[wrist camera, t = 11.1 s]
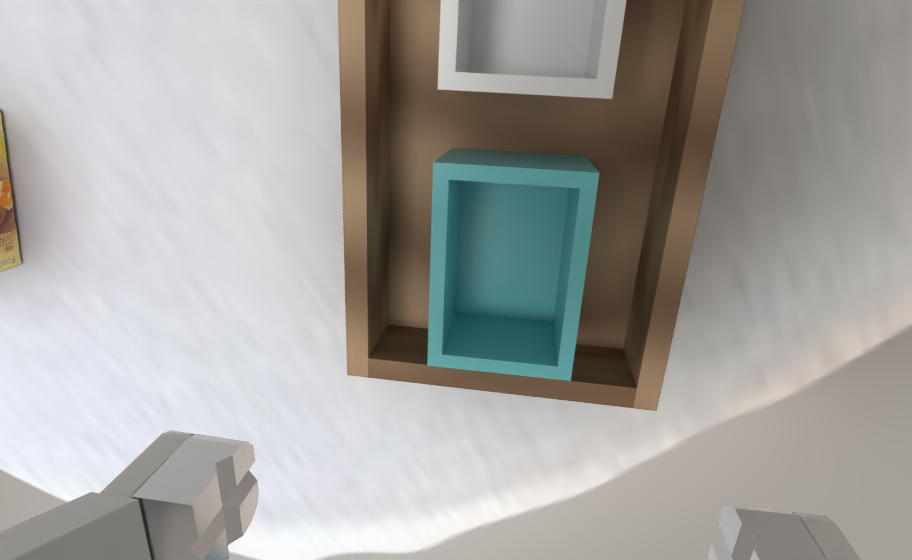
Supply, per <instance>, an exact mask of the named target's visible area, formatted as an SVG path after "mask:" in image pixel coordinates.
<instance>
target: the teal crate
mask: <svg viewBox="0 0 912 560" xmlns="http://www.w3.org/2000/svg"><path fill="white" fill-rule="evenodd" d="M598 180H599V172H598V170H597V169H596V168H595V167H594V166H593V164H592V163H591V162H590V161H589V159H588V158H587V157H586V156H577V155H560V154H544V153H527V152H511V151H494V150H478V149H461V148H451V149H450V150H449V151H447V152H446V153H445V154H444V155H442V156H441V157H440V158H438V159H437V160H436V161H434V162H433V187H432V222H431V256H430V291H429V325H428V360H427V366H436V367H445V368H454V369H464V370H473V371H483V372H492V373H501V374H511V375H520V376H529V377H539V378H548V379H557V380H567V381H571V376H572V369H573V361H574V354H575V347H576V340H577V332H578V325H579V318H580V311H581V303H582V296H583V289H584V282H585V274H586V267H587V260H588V253H589V245H590V238H591V231H592V224H593V216H594V209H595V202H596V195H597V187H598Z"/></svg>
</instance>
